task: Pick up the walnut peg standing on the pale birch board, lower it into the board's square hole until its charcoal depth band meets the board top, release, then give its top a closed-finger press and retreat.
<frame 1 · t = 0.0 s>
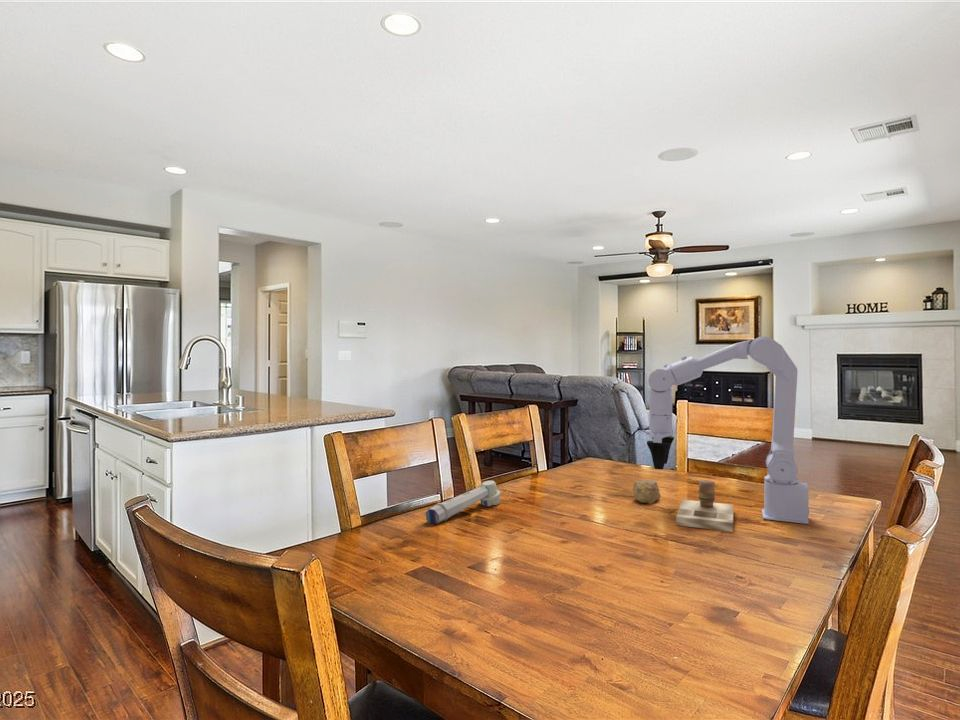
hand: (660, 466, 147), 10 cm above the table, fingers open, 7 cm apart
grey mallet: (466, 513, 141), on the table
peg: (706, 506, 138), point 2 cm above the table, touching board
board: (705, 518, 134), on the table
stone tool: (647, 500, 152), on the table
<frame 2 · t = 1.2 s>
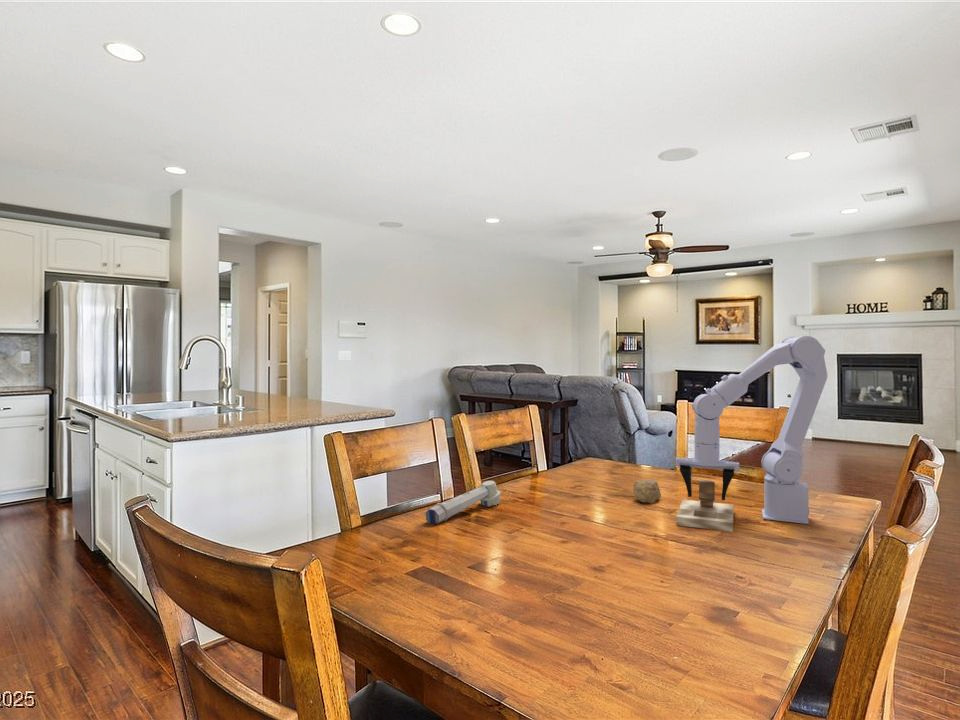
hand: (706, 497, 138), 4 cm above the table, fingers open, 7 cm apart
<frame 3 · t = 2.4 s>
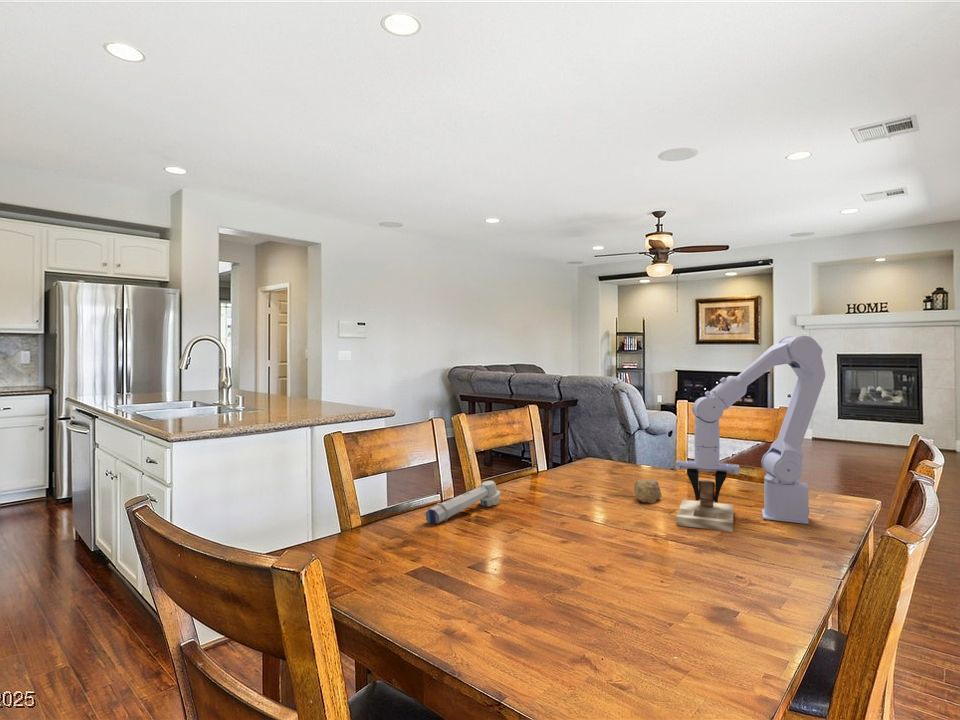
hand: (706, 500, 138), 3 cm above the table, fingers closed on peg, 4 cm apart
peg: (706, 506, 138), point 2 cm above the table, touching board, gripper
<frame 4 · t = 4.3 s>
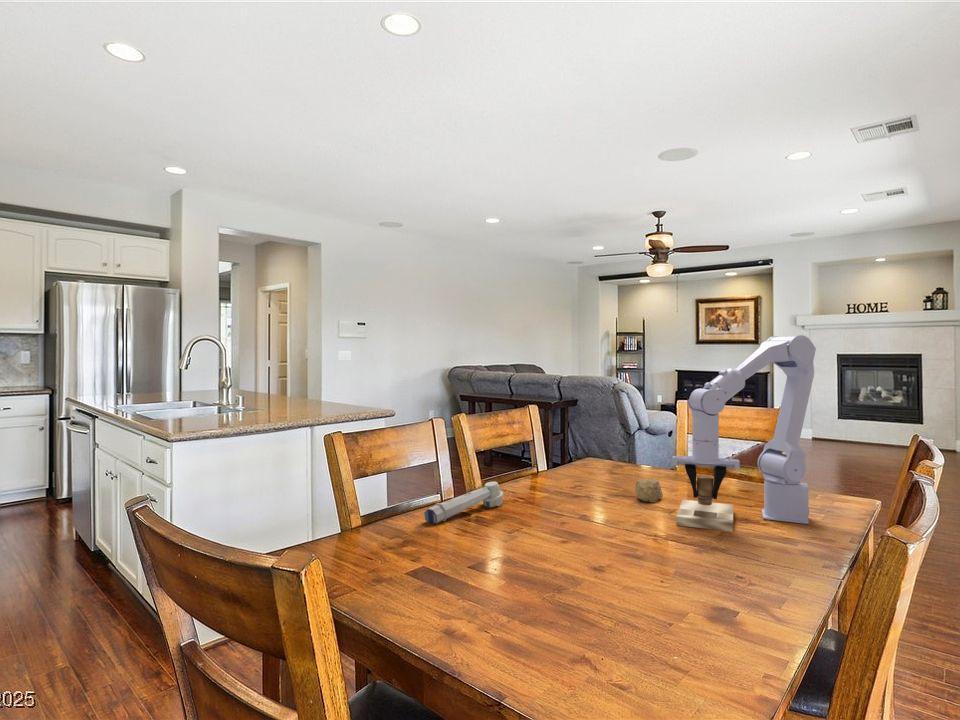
hand: (705, 497, 131), 6 cm above the table, fingers closed on peg, 4 cm apart
peg: (704, 503, 131), point 5 cm above the table, touching gripper
when the fingers open (2 cm above the table, at t = 5.8 s): peg stays where it is, resting in board.
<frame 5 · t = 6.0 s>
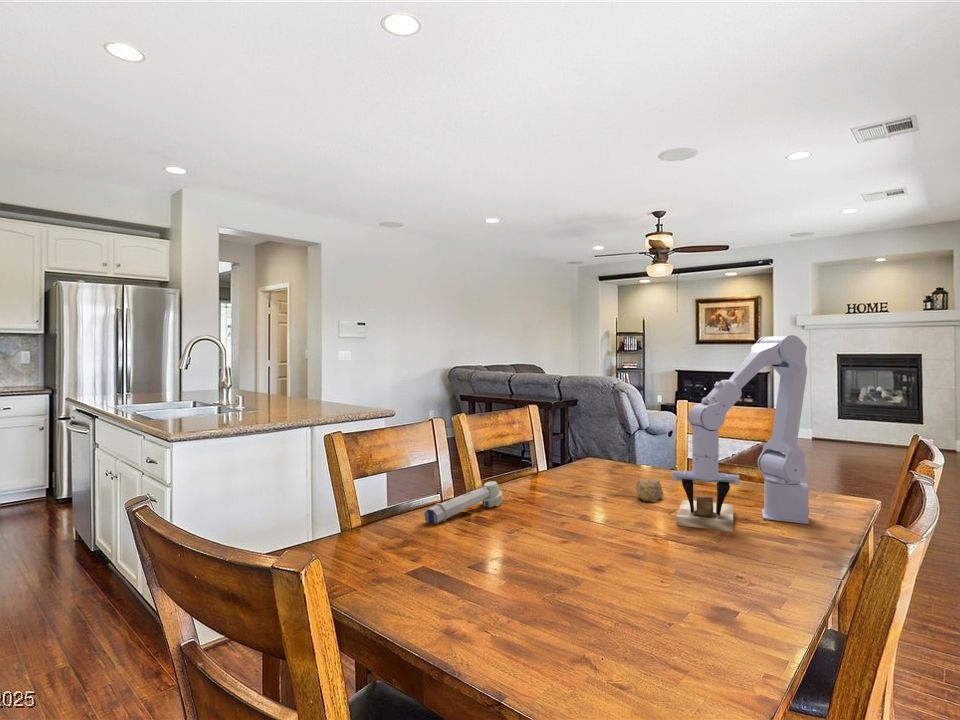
hand: (705, 512, 131), 2 cm above the table, fingers open, 5 cm apart
peg: (705, 522, 131), resting in board
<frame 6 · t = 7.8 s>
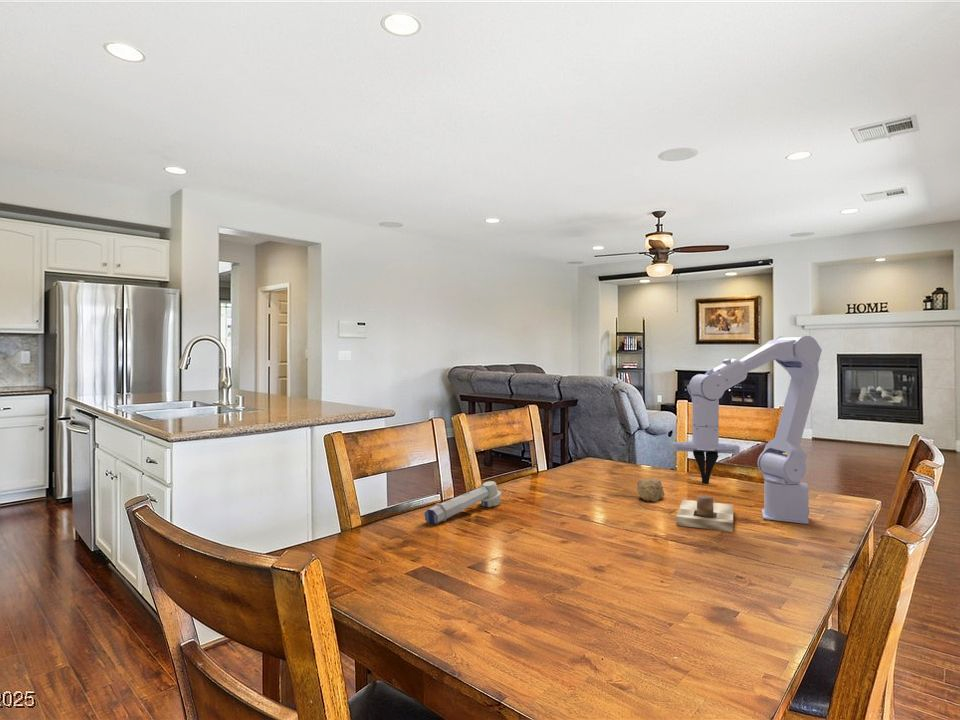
hand: (705, 483, 131), 9 cm above the table, fingers closed
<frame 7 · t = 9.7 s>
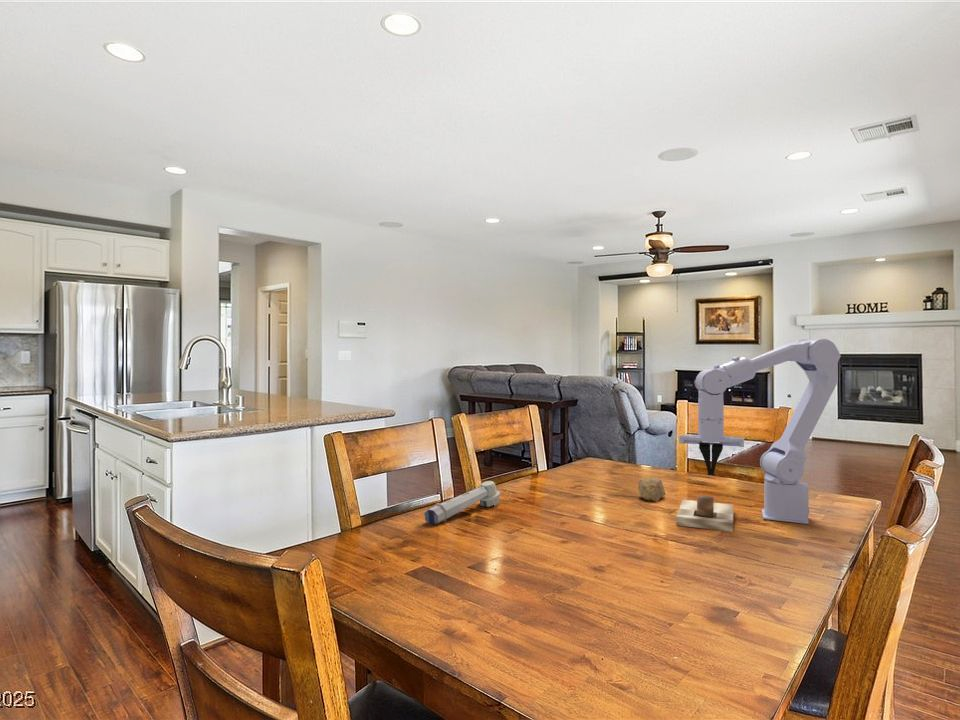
hand: (711, 474, 136), 10 cm above the table, fingers closed
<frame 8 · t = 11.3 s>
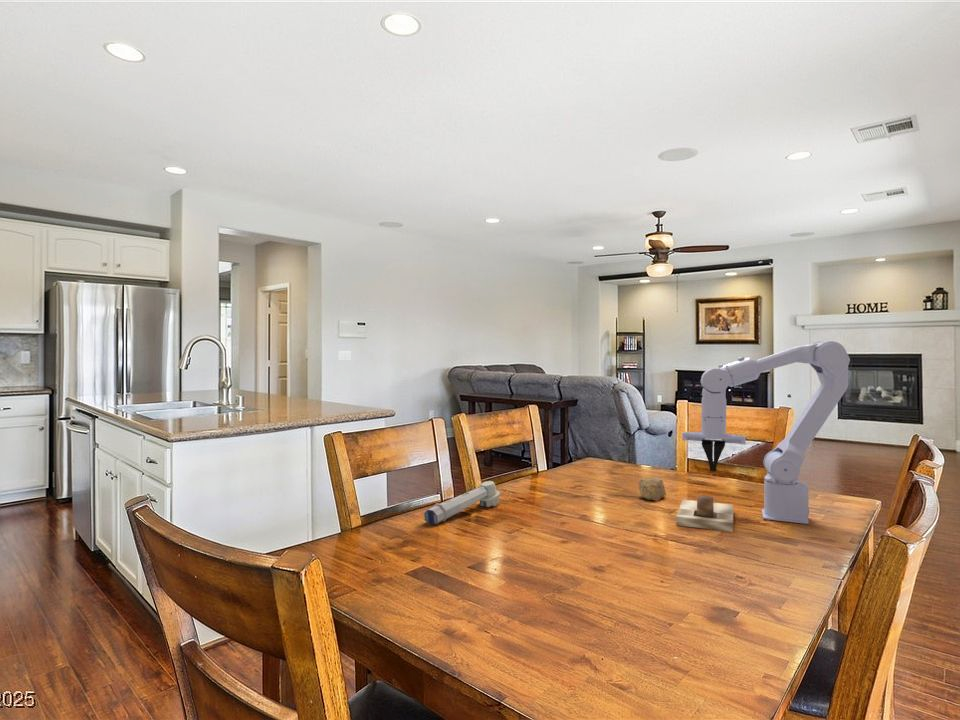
hand: (713, 470, 140), 10 cm above the table, fingers closed
at the end: peg 0.1 cm from the target spot on the board, point 0.0 cm above the board's base; peg tilted 0°; the gripper is holding nothing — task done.
